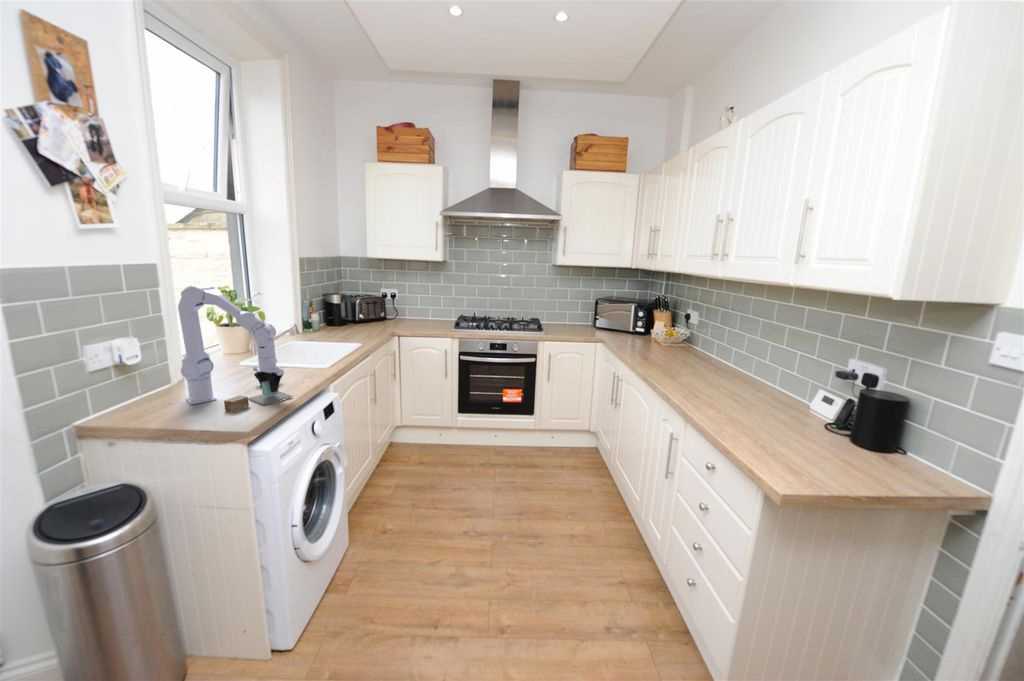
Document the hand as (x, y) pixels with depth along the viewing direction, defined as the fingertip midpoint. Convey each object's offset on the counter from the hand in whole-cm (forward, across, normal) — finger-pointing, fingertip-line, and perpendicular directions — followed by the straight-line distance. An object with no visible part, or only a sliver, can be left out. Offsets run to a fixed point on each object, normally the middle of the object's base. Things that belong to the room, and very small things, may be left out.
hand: (270, 390), depth 157 cm
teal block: (+1, 0, 0) cm, 1 cm away
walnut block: (+4, -1, -12) cm, 13 cm away
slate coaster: (+3, 0, 0) cm, 3 cm away
